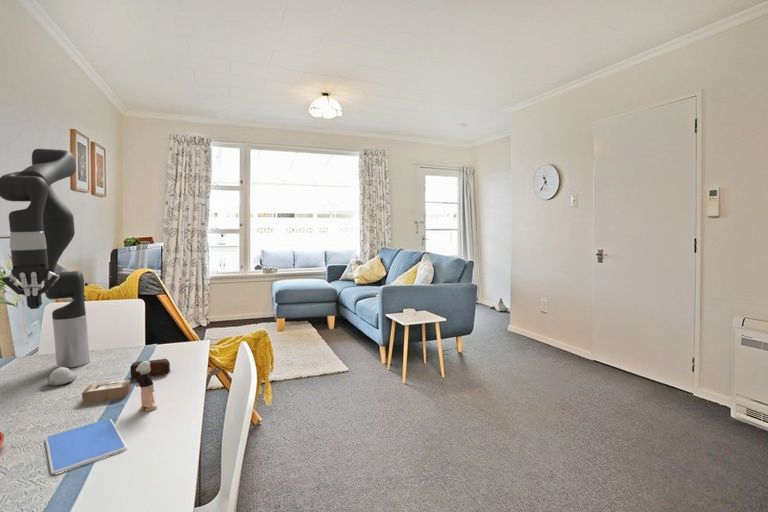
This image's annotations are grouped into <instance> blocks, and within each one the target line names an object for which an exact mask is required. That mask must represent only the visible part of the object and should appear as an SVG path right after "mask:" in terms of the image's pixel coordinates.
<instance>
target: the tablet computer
mask: <svg viewBox="0 0 768 512" xmlns="http://www.w3.org/2000/svg"><path fill="white" fill-rule="evenodd" d="M44 442H45V447H46V452H47V453H46V454H47V460H48V465H49V470H50V474H51V475H52V474H56V473H59V472H62V471H65V470H69V469H72V468H74V467H76V466H80V465H83V464H85V463H88V462H92V461H95V462H97V461H96V460H98V459H101V458H104V457H107V456H109V457H111V456H110V455H112V456H114V455H113V454H115V453H118V452H120V453H122V452H121V451H123V450H125V449H126V448H128V446H127V445H126V443H125V441H124V438H123V437H122V435H121V433H120V431H118V428H117V426H116V425H115V423H114V421H113V420H112V419H111V418H107V419H102V420H99V421H97V422H92V423H89V424H85V425H82V426H79V427H76V428H71V429H68V430H65V431H61V432H57V433H55V434H51V435H48V436H47V437H46V438H45V440H44ZM126 450H127V449H126ZM126 450H125V451H126ZM123 452H124V451H123ZM118 454H119V453H118ZM115 455H116V454H115ZM107 458H108V457H107ZM104 459H105V458H104ZM101 460H102V459H101ZM98 461H99V460H98ZM92 463H93V462H92ZM72 470H73V469H72ZM69 471H70V470H69Z"/></svg>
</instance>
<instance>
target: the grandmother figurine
mask: <svg viewBox="0 0 768 512" xmlns="http://www.w3.org/2000/svg"><path fill="white" fill-rule="evenodd" d="M142 361H143V362H141V363H140V364H139V365H138V367H137V368H136V371H137V372H138V371H139V372H140V374H141V375H140V376H138V378H137V379H135V387H136V388H138V387H140V396H141V397H140V398H141V400H140V402H141V403H140V405H141V406H140V407H139V410H140V411H144V412H145V413H147V411H148V412H152V411H155V410H157V409H158V407H157V405H155V402H156V401H155V396H154V392H155V389H154V387H155V386H154V382H153V379H152V377H151V376H150V375H149V374H148V373H149V372H150V370H151V368H150V362H149V361H150V360H142ZM156 408H157V409H156ZM144 409H145V410H144ZM154 409H155V410H154ZM151 410H152V411H151Z"/></svg>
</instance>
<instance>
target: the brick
mask: <svg viewBox="0 0 768 512" xmlns="http://www.w3.org/2000/svg"><path fill="white" fill-rule="evenodd" d="M143 361H144V360H141V361H135V362H132V363H131V365H130V378H131V380H136V379H137V378H138V376H140V375H141V374H140V372H139V371H138V372H137V371H136V368H137V367H138V365H139V364H140V363H141V362H143ZM148 361H149V362H150V368H151V370H150V372H149V373H148V374H149V375H150V376H151V378H152V376H154V377H158V376H157V375H161V376H165V375H164V374H167V373H168V374H169V373H170V372H171V364H170V360H169V359H167V358H160V359H152V360H151V359H150V360H148ZM168 374H167V375H168Z"/></svg>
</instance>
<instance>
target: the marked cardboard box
mask: <svg viewBox="0 0 768 512" xmlns="http://www.w3.org/2000/svg"><path fill="white" fill-rule="evenodd" d="M131 382H132V381H131V379H123V380H115V381H108V382H102V383H101V382H100V383H93V384H89V385H88V386H87V387H86V388H85V389H84V390H83V391H82V392H81V397H82V398H81V399H82V405H88V404H93V403H101V402H107V401H109V402H110V401H114V400H120V399H121V400H122V399H126V398H127V396H128V395H129V394H130V392H131V391H132V385H131Z"/></svg>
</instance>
